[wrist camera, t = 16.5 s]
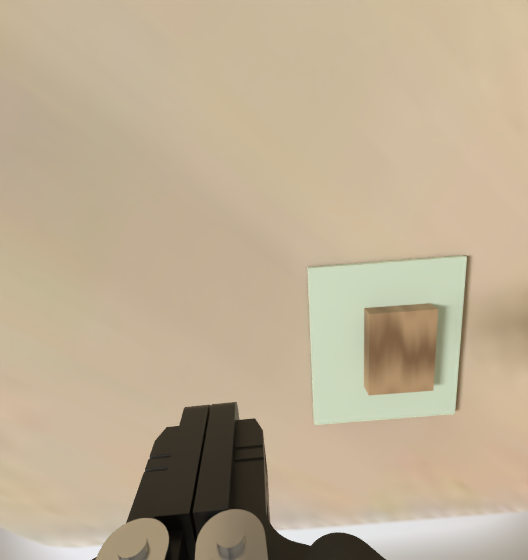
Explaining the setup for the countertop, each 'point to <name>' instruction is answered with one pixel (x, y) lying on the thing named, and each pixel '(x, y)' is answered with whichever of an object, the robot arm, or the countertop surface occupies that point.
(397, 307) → the brown wooden block
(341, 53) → the countertop surface
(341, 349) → the mat
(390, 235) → the countertop surface
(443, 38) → the countertop surface
